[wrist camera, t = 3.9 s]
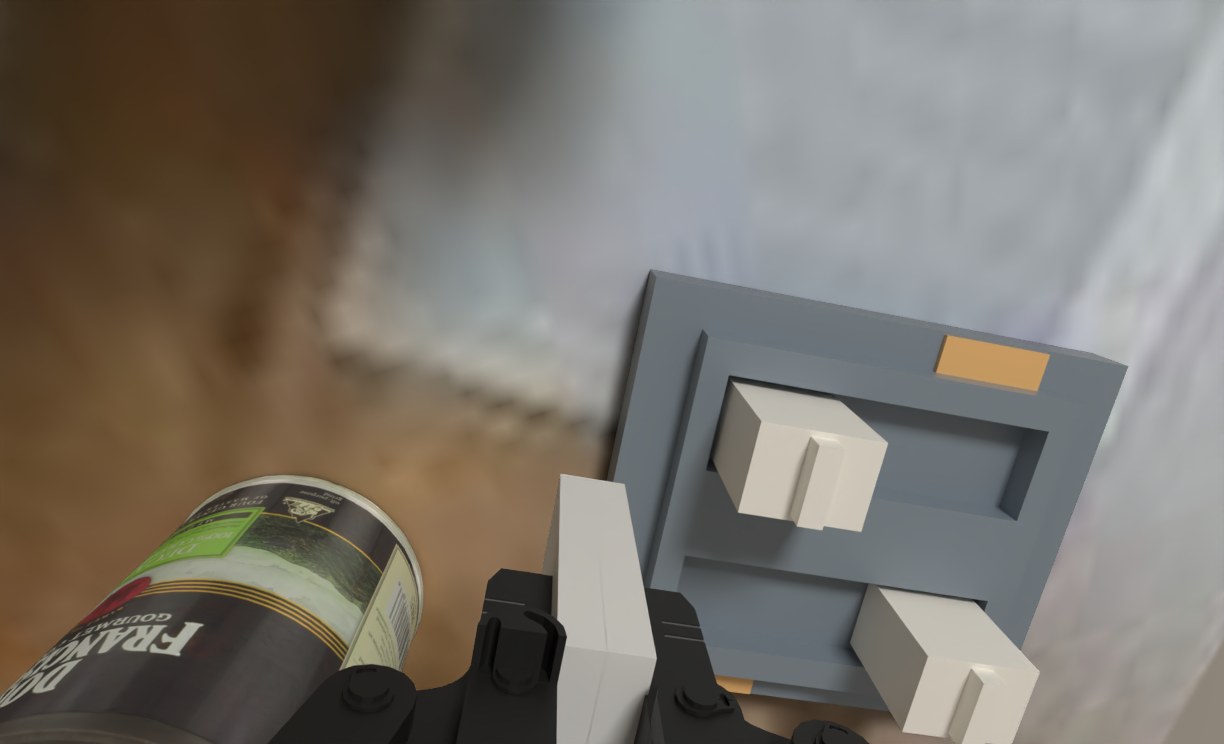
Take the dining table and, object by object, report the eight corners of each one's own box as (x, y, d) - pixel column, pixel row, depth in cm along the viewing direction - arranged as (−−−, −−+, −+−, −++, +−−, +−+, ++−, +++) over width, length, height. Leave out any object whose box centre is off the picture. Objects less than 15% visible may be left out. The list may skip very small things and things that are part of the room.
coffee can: (112, 541, 30) (-258, 852, 17) (341, 430, 30) (150, 659, 16) (257, 734, 33) (40, 1137, 19) (470, 636, 32) (400, 982, 19)
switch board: (573, 639, 33) (573, 689, 29) (650, 269, 29) (660, 282, 25) (968, 693, 34) (1007, 746, 31) (1092, 353, 30) (1151, 375, 27)
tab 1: (708, 452, 28) (743, 524, 23) (727, 375, 28) (768, 430, 22) (811, 469, 29) (870, 544, 23) (833, 394, 28) (899, 452, 22)
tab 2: (849, 642, 31) (912, 749, 25) (870, 577, 30) (939, 671, 25) (942, 656, 31) (1024, 763, 26) (965, 591, 31) (1054, 687, 25)
